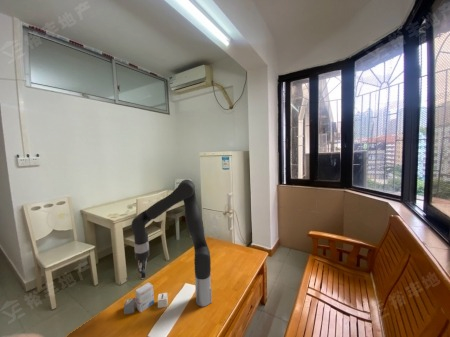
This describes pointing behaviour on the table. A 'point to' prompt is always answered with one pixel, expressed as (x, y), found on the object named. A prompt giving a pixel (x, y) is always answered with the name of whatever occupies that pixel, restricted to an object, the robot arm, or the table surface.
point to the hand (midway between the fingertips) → (143, 277)
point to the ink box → (144, 297)
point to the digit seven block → (130, 306)
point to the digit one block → (162, 300)
